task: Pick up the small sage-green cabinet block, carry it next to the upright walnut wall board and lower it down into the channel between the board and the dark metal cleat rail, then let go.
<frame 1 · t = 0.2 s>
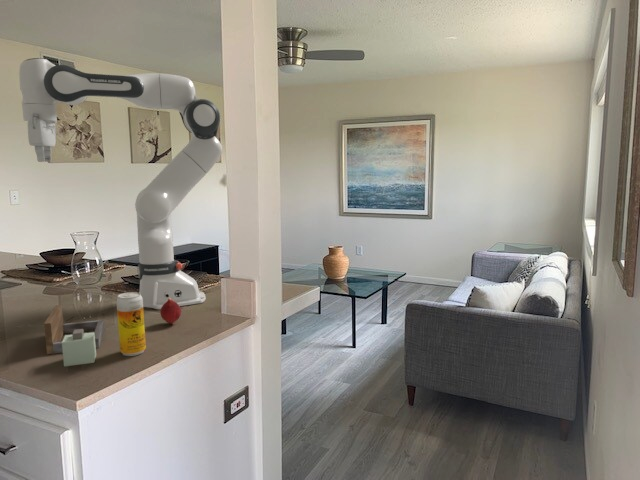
hand: (44, 161, 148), 48 cm above the countertop, tool pointing down, fingers open, 8 cm apart
cabinet block: (80, 360, 118), on the countertop
onion: (171, 324, 144), on the countertop
beer can: (133, 352, 123), on the countertop
wall board: (79, 339, 131), on the countertop
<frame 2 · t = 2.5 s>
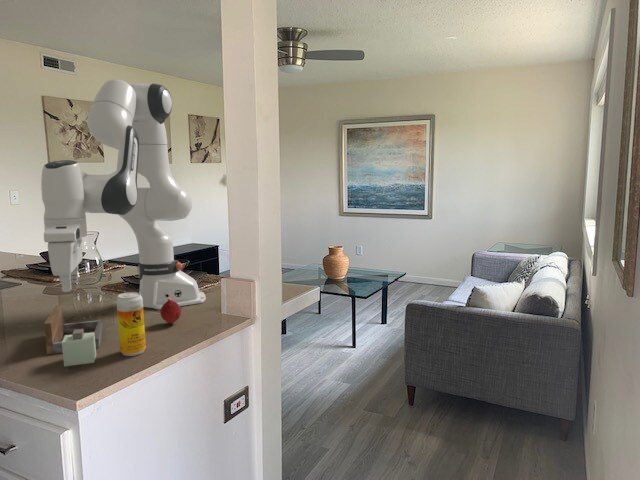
hand: (70, 286, 117), 18 cm above the countertop, tool pointing down, fingers open, 8 cm apart
nothing on the countertop moved.
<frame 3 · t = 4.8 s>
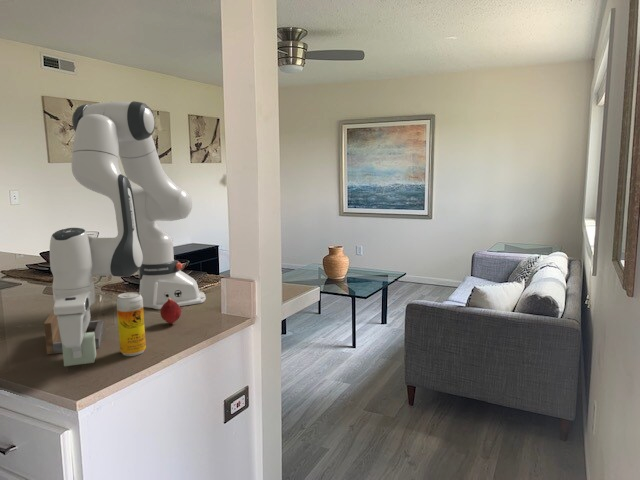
hand: (79, 352, 118), 2 cm above the countertop, tool pointing down, fingers closed on cabinet block, 5 cm apart
cabinet block: (80, 360, 118), on the countertop, touching gripper
everything else where it was.
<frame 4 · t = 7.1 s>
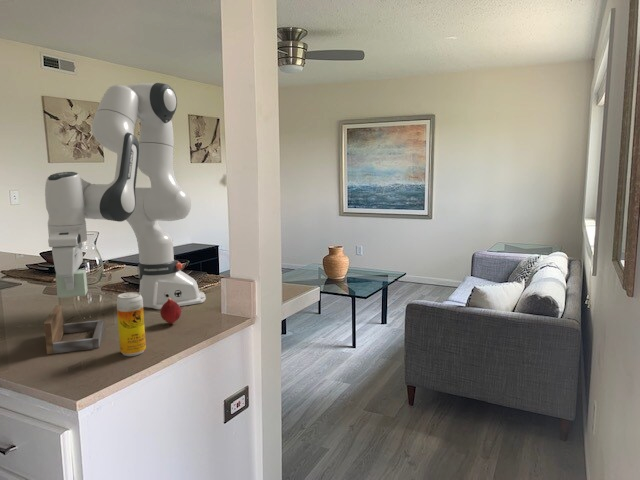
hand: (72, 286, 129), 15 cm above the countertop, tool pointing down, fingers closed on cabinet block, 5 cm apart
cabinet block: (73, 294, 129), point 13 cm above the countertop, touching gripper
everything else where it was.
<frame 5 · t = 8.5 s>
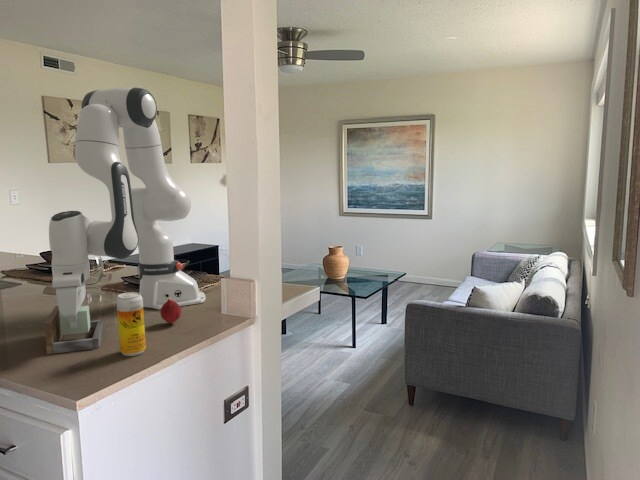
hand: (75, 323, 130), 5 cm above the countertop, tool pointing down, fingers closed on cabinet block, 5 cm apart
cabinet block: (76, 330, 130), point 3 cm above the countertop, touching gripper
everything else where it was.
when the fingers open (4 cm above the countertop, at t = 9.5 s): cabinet block drops 2 cm, resting in wall board.
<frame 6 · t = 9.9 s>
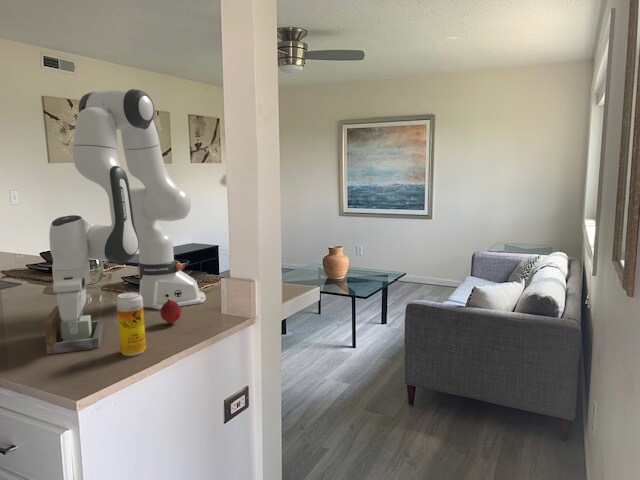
hand: (76, 327, 131), 4 cm above the countertop, tool pointing down, fingers open, 8 cm apart
cabinet block: (78, 340, 131), resting in wall board
everything else where it was.
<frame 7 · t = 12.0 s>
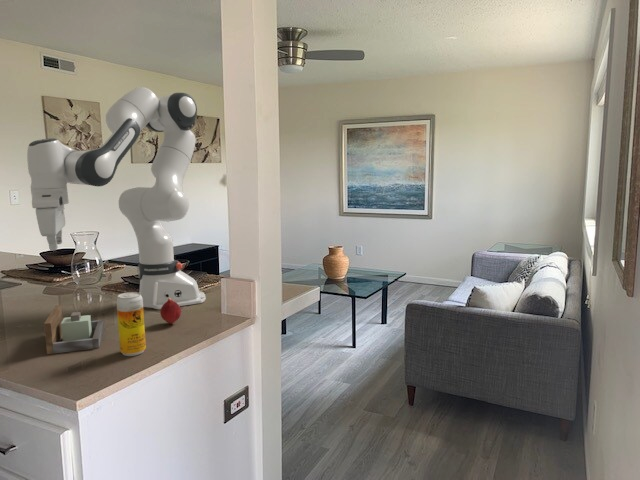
hand: (56, 246, 137), 24 cm above the countertop, tool pointing down, fingers open, 8 cm apart
nothing on the countertop moved.
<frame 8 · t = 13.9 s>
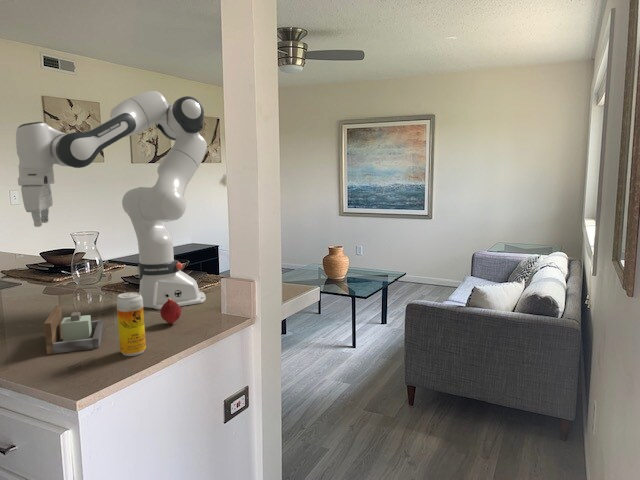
hand: (41, 224, 145), 29 cm above the countertop, tool pointing down, fingers open, 8 cm apart
nothing on the countertop moved.
at the end: cabinet block inside the target area on the wall board (1.3 cm from its centre), point 0.0 cm above the wall board's base; cabinet block tilted 0°; the gripper is holding nothing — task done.
